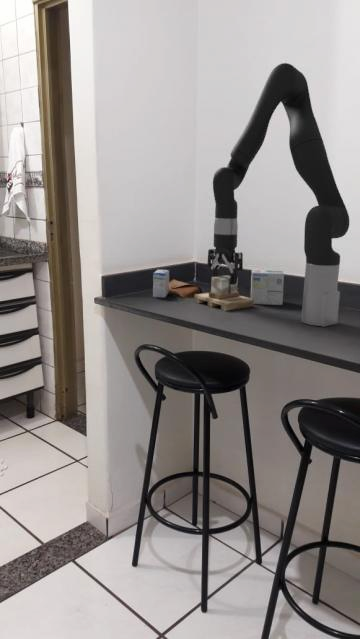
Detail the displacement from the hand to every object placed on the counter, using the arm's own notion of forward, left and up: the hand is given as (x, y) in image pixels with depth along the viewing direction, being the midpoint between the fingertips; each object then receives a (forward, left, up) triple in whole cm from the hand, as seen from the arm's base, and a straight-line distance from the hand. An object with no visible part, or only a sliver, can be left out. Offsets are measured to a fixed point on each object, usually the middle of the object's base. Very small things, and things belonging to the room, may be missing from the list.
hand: (224, 282), depth 168 cm
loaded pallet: (0, 0, -5) cm, 5 cm away
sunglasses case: (+24, 0, -8) cm, 25 cm away
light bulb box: (-6, -14, -8) cm, 17 cm away
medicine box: (+23, +9, -8) cm, 26 cm away
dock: (0, 0, -7) cm, 7 cm away
